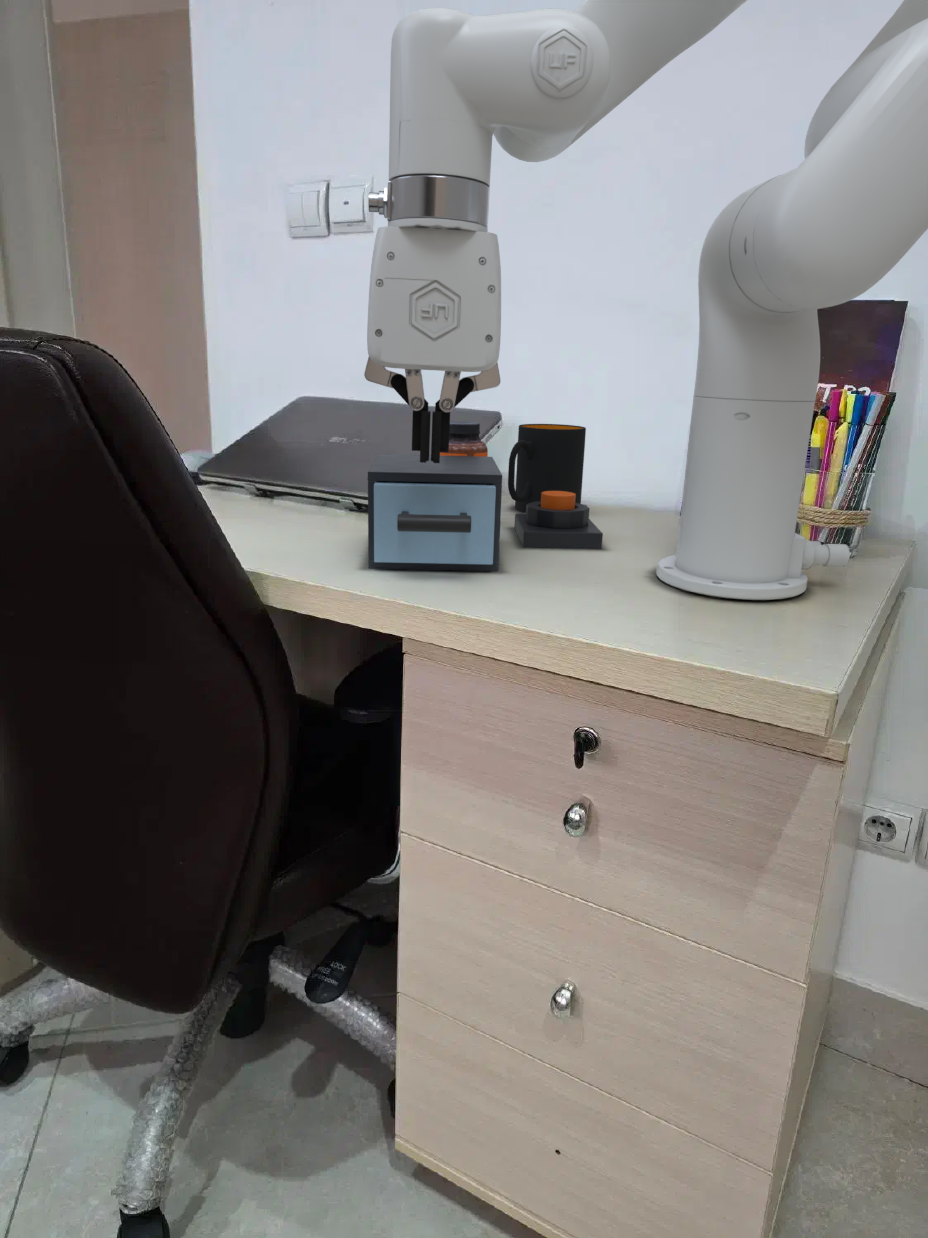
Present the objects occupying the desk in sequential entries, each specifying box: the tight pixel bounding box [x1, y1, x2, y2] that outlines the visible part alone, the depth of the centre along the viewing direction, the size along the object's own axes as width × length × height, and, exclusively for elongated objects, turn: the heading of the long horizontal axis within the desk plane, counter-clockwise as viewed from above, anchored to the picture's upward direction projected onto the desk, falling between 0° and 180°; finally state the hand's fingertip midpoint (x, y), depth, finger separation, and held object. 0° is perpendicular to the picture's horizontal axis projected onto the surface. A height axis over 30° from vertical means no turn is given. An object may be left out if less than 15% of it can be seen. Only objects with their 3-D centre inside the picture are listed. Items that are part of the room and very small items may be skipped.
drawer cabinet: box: [367, 453, 503, 572], centre depth 79 cm, size 14×12×9 cm
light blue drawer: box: [374, 481, 496, 565], centre depth 75 cm, size 17×10×7 cm, turn 2°
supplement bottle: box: [440, 420, 489, 457], centre depth 94 cm, size 6×6×11 cm
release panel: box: [514, 501, 604, 550], centre depth 88 cm, size 8×10×4 cm
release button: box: [541, 491, 576, 510], centre depth 87 cm, size 4×4×2 cm
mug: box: [507, 423, 587, 514], centre depth 102 cm, size 8×12×10 cm
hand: (429, 460), depth 67 cm, fingers closed
